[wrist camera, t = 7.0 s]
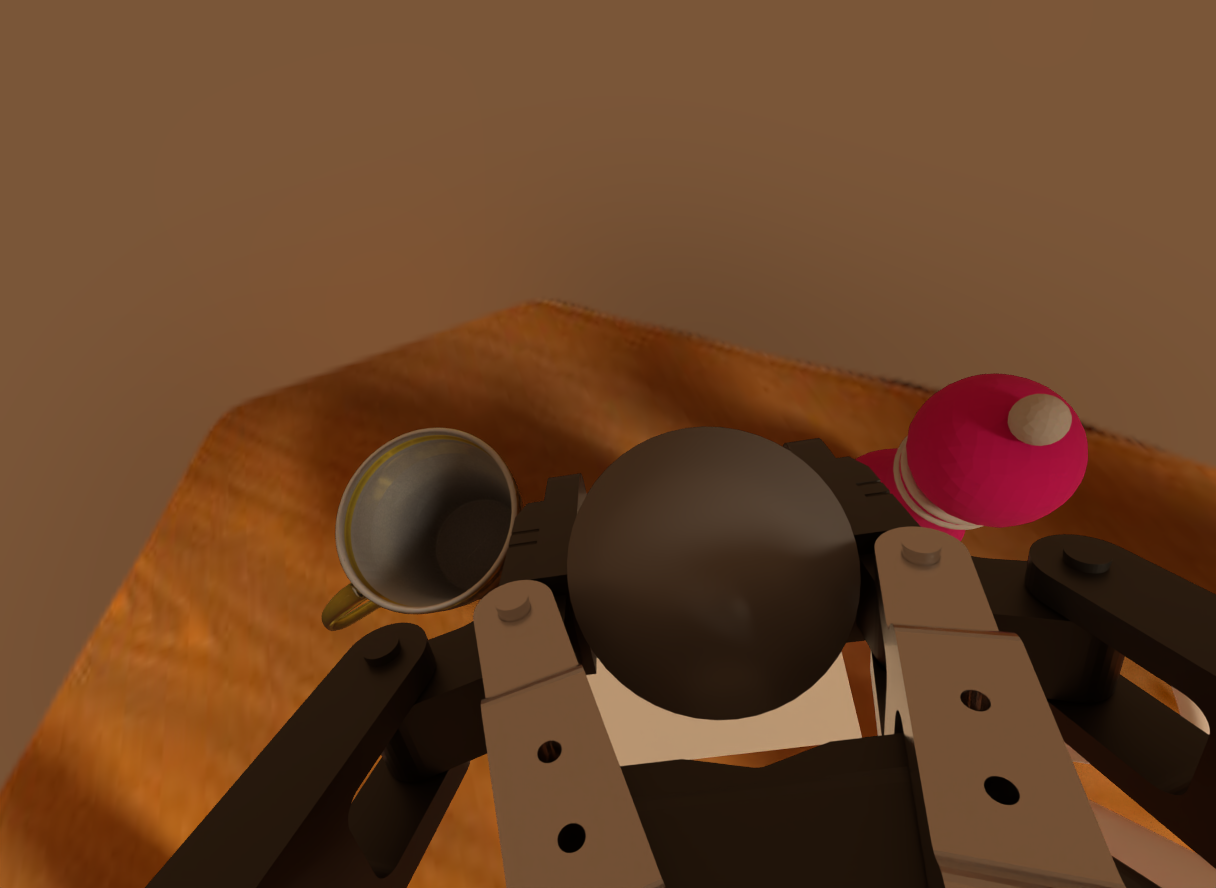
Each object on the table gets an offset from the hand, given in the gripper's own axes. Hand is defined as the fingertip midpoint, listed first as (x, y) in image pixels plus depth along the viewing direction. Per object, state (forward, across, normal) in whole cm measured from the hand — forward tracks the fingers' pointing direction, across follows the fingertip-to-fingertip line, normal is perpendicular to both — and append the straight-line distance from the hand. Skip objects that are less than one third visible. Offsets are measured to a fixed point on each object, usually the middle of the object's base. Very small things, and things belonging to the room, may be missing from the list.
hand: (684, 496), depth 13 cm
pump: (+11, 0, +13) cm, 17 cm away
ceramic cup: (+22, +14, +16) cm, 31 cm away
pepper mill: (+21, -13, +17) cm, 30 cm away
